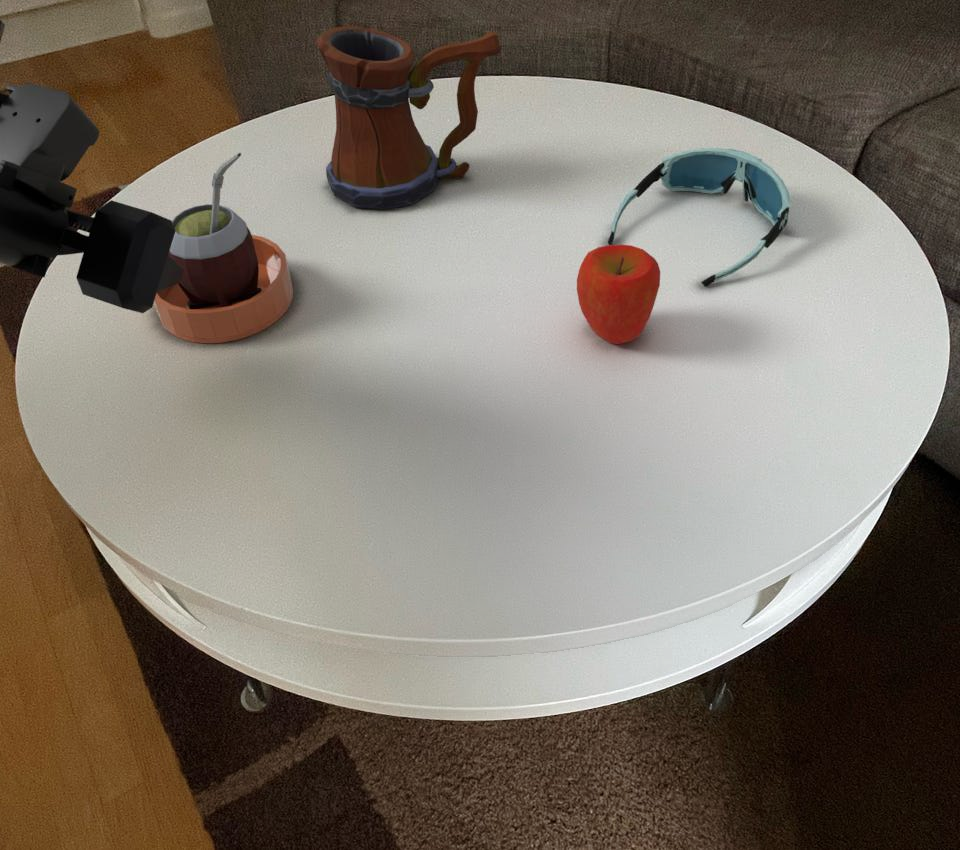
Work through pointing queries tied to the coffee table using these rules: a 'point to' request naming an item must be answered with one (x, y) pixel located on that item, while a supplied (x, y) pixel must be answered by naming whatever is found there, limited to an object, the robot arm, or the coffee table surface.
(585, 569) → the coffee table surface
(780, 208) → the sunglasses
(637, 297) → the apple
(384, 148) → the mug
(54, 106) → the robot arm
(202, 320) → the holder
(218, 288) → the mate gourd
